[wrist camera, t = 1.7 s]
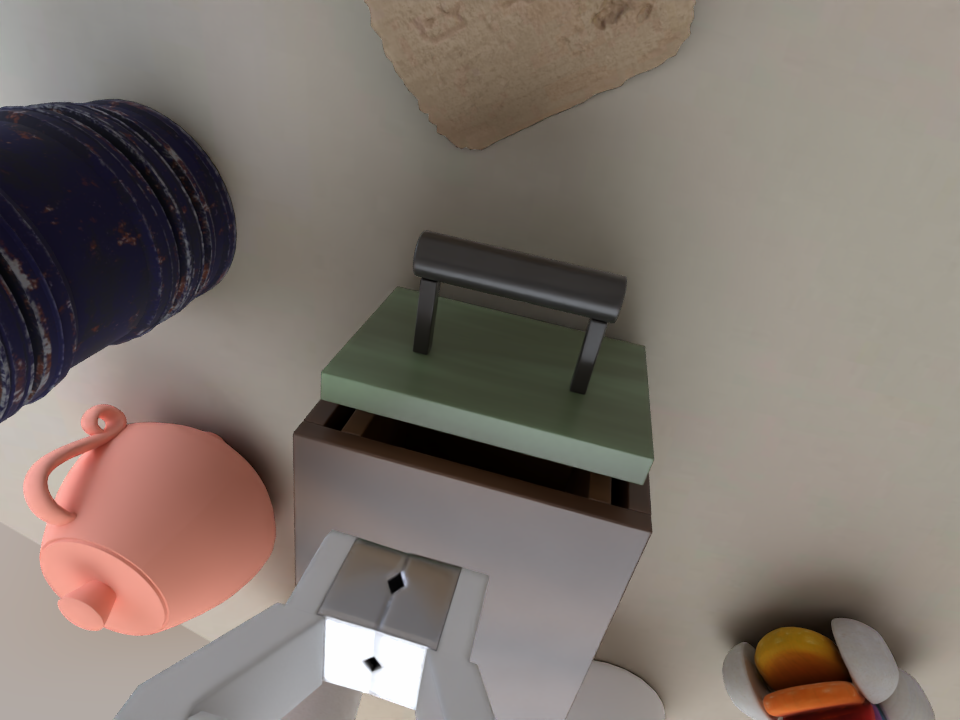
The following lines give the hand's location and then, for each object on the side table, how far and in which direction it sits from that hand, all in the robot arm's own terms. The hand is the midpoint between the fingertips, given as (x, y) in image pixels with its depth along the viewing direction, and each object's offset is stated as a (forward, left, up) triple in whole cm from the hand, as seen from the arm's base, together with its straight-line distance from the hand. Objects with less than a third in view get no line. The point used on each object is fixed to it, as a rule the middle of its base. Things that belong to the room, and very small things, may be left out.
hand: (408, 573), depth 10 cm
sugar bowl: (+19, -18, -17) cm, 31 cm away
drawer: (+7, 0, -16) cm, 18 cm away
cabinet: (+12, 0, -17) cm, 21 cm away
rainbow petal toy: (+20, +21, -17) cm, 34 cm away
